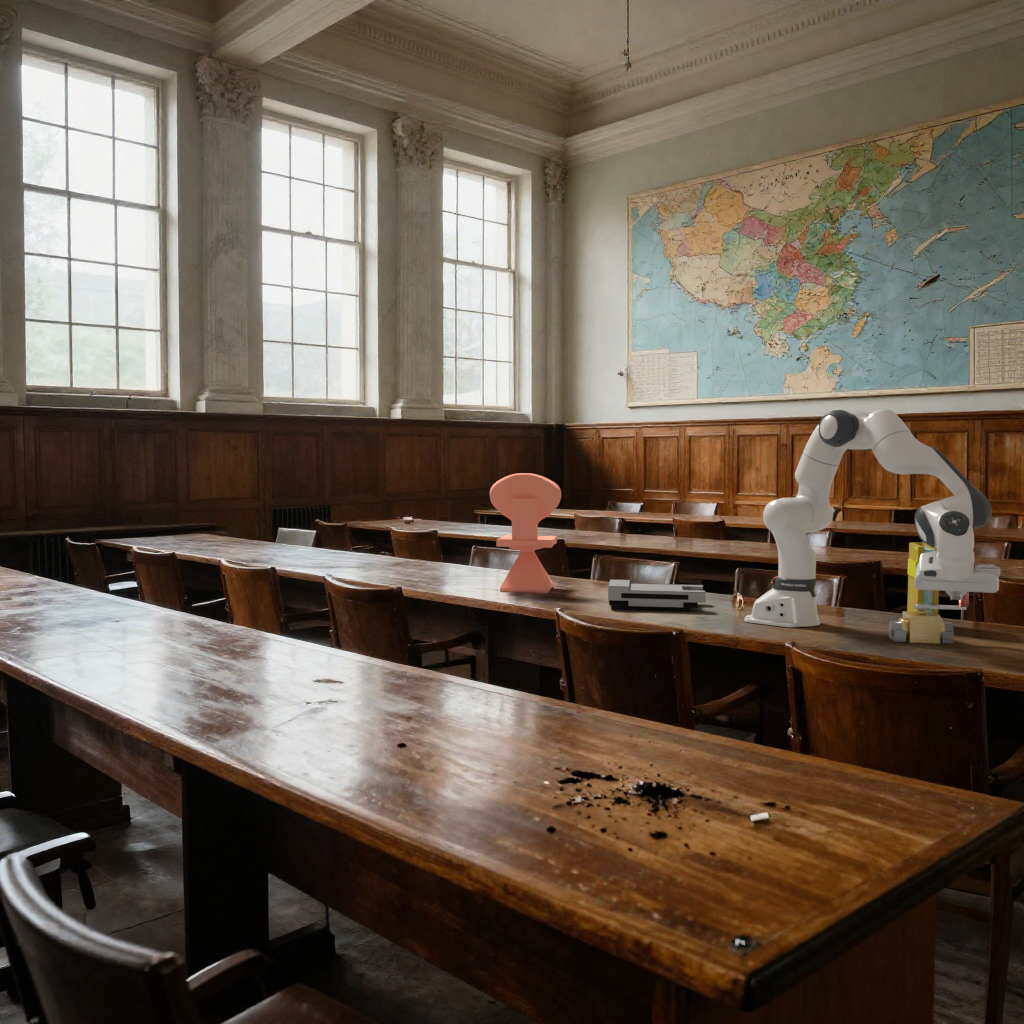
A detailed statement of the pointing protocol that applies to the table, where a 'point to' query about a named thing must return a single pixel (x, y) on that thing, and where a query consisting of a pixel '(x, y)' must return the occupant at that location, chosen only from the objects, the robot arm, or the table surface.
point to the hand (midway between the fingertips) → (956, 597)
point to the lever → (961, 605)
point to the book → (913, 593)
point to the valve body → (921, 628)
